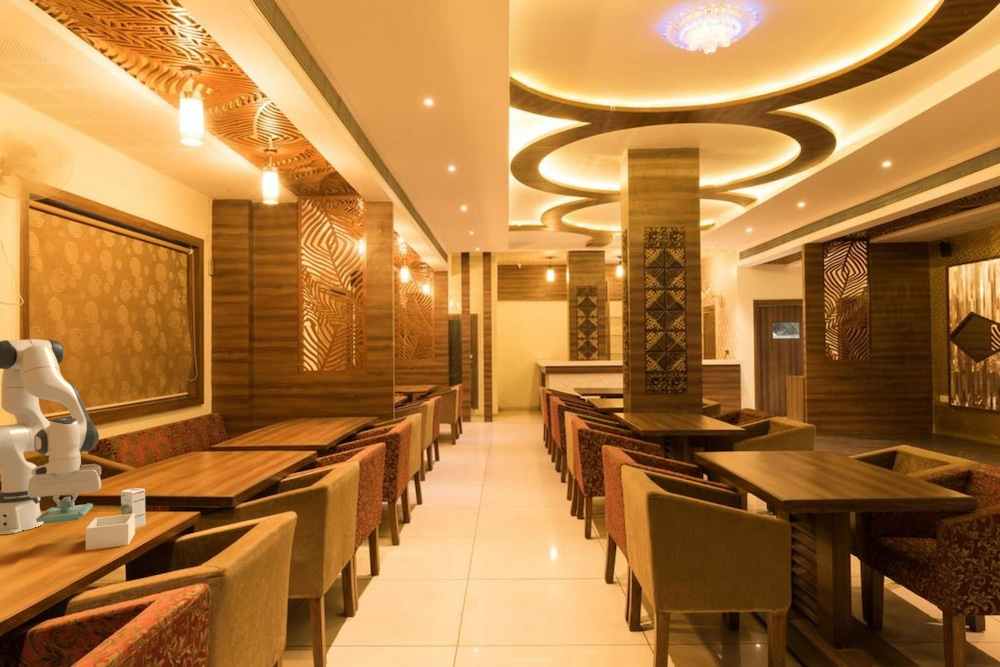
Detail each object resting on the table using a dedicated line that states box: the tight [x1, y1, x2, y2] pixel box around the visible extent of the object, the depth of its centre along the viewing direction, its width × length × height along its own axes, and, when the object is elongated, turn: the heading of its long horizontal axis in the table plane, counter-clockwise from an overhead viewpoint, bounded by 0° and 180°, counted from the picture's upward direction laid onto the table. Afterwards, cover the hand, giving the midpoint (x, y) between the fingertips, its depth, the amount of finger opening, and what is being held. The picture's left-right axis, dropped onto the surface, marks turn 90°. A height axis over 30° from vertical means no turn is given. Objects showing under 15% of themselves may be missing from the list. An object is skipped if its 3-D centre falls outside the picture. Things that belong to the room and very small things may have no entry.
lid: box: [36, 496, 94, 525], centre depth 207 cm, size 13×15×6 cm
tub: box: [85, 514, 136, 551], centre depth 208 cm, size 12×14×8 cm
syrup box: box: [120, 487, 147, 529], centre depth 227 cm, size 6×6×14 cm
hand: (65, 507), depth 207 cm, fingers closed on lid
